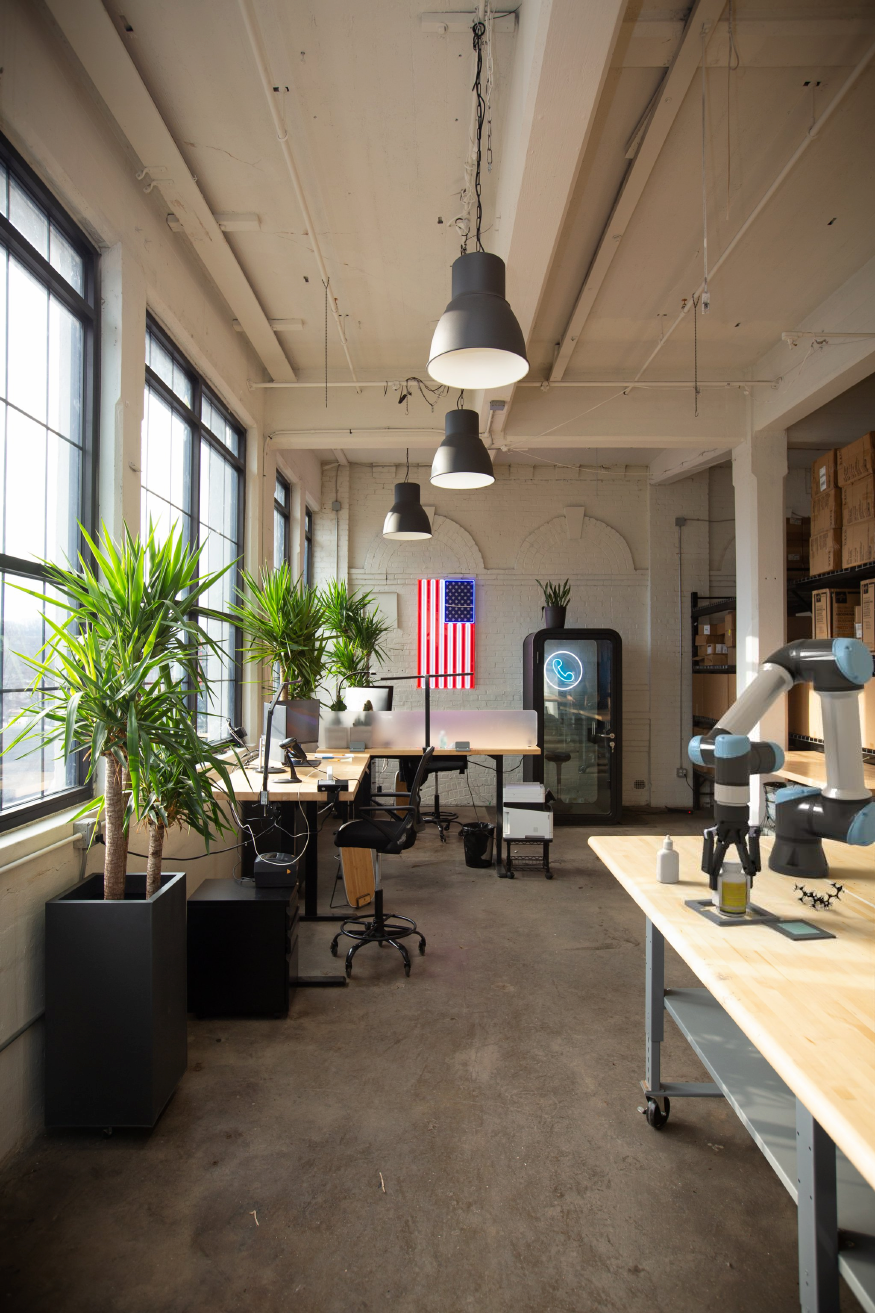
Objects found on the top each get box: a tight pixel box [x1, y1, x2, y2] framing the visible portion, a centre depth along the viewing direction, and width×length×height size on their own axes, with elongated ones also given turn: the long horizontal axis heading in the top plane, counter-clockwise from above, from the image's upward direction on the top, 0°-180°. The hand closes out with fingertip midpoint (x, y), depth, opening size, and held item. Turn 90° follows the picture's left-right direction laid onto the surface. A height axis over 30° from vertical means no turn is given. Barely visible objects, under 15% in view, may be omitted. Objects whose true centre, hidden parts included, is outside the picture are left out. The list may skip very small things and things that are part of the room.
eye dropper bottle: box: [656, 834, 680, 884], centre depth 185 cm, size 4×6×12 cm
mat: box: [761, 918, 837, 942], centre depth 151 cm, size 10×10×1 cm
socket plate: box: [684, 898, 782, 927], centre depth 161 cm, size 15×14×1 cm
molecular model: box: [792, 880, 846, 911], centre depth 166 cm, size 6×15×8 cm, turn 11°
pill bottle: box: [715, 859, 747, 918], centre depth 162 cm, size 6×6×12 cm
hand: (731, 903), depth 162 cm, fingers closed on pill bottle, 6 cm apart
